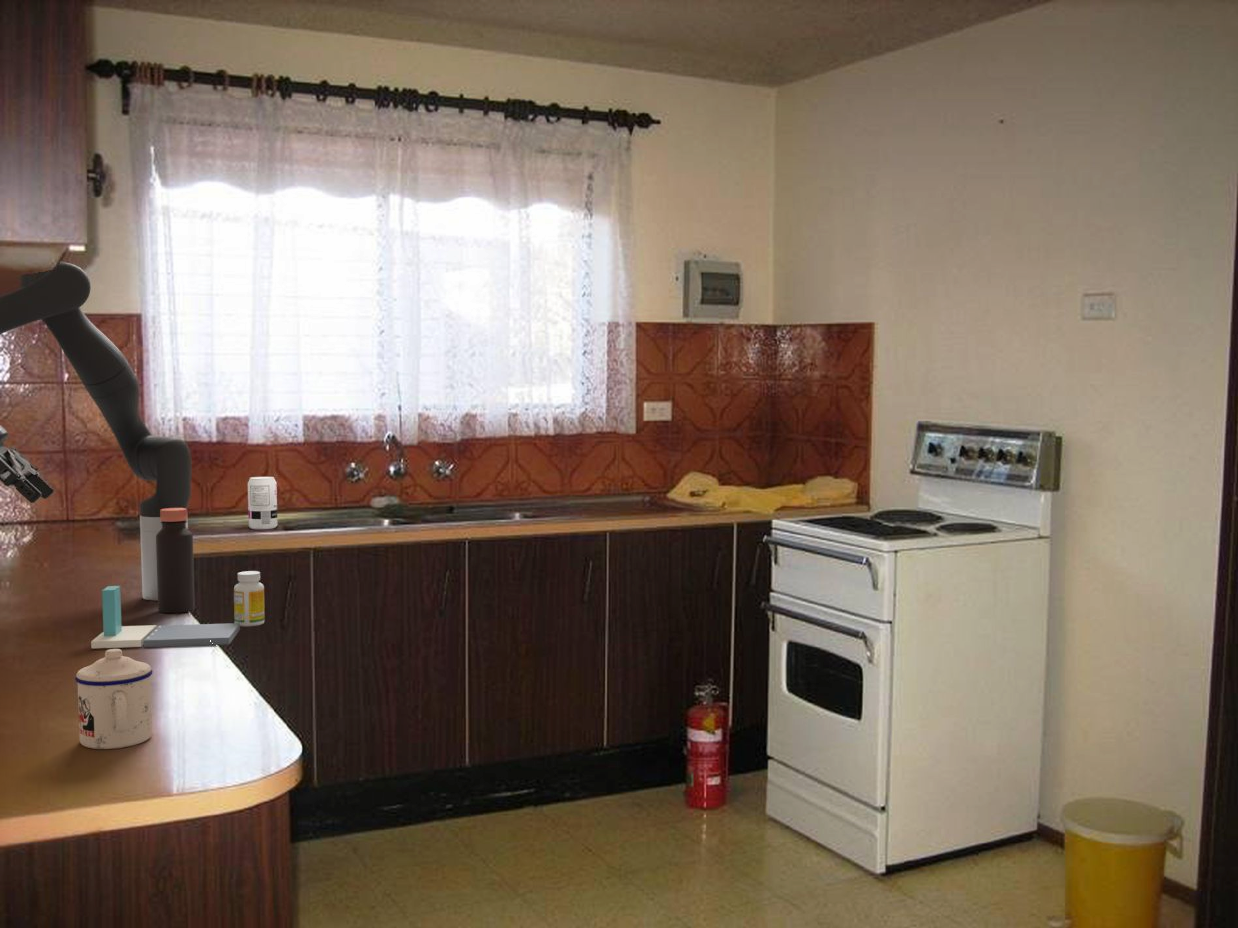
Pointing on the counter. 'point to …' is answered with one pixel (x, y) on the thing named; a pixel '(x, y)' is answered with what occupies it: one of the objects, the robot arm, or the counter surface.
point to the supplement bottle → (249, 599)
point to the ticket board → (192, 635)
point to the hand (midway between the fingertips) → (44, 497)
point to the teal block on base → (118, 624)
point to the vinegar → (175, 563)
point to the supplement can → (262, 503)
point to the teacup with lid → (114, 702)
